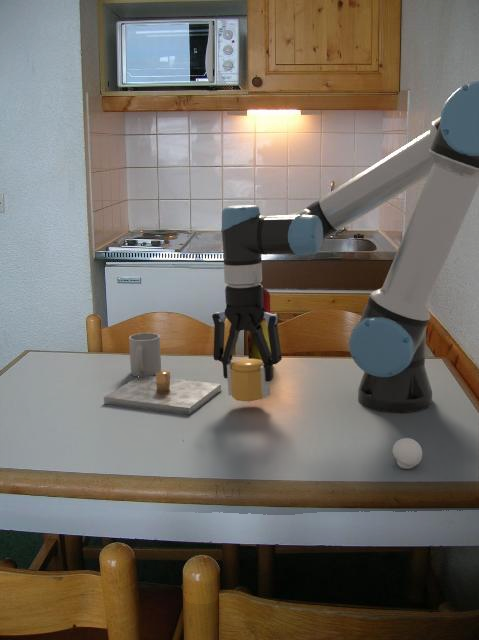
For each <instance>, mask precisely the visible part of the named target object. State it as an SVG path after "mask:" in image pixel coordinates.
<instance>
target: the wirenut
mask: <svg viewBox="0 0 479 640" xmlns="http://www.w3.org/2000/svg"><path fill="white" fill-rule="evenodd" d="M233 361H234V362H232V361H231V362H232V363H231V367H232V368H231V369H230V373H231V392H232V395H231V398H233V399H234V400H236V402H237V401H241V402H255V401H260V400H263V399H264V398H262V391H261V371H260V367H261V366H262V365H264V364H263V361H262V360H259V359H249V358H241V359H237V360H233Z"/></svg>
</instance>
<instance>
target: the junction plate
mask: <svg viewBox="0 0 479 640" xmlns="http://www.w3.org/2000/svg"><path fill="white" fill-rule="evenodd" d="M221 391H222V384H221V383H214V382H206V381H205V382H204V381H197V380H187V379H179V378H171V372H170V371H169V370H161V371H158V372H156V375H155V376H145V375H141V376H139V377H138V376H136V378H134V379H132V380H131V381H129V382H127V383H126V384H124V385H122V386H120V387H118V388H117V389H115V390H114V391H112V392H110V393H108V394H107V395H105V396H103V404H104V405H109V406H110V405H111V406H118V407H125V408H127V407H128V408H134V409H141V410H149V411H154V412H155V411H158V412H164V413H165V412H166V413H171V414H172V413H173V414H179V415H186V416H190V415H191V414H193V413H194V412H195V411H197V410H198V409H199V408H200V407H202V406H203V405H204V404H206V403H207V402H208V401H209V400H211V399H212V398H213V397H215V396H216V395H218V394H219V393H220V392H221Z"/></svg>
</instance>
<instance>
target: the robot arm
mask: <svg viewBox="0 0 479 640" xmlns="http://www.w3.org/2000/svg"><path fill="white" fill-rule="evenodd" d="M424 180H426V181H425V183H424V186H423V188H422V190H421V193H420V195H419V198H418V200H417V202H416V205H415V208H414V210H413V211H412V212H413V213H412V214H411V217H410V220H409V221H408V225H407V227H406V229H405V231H404V234H403V237H402V239H401V241H400V244H399V246H398V248H397V251H396V254H395V256H394V259H393V261H392V263H391V265H390V268H389V270H388V273H387V275H386V278H385V280H384V282H383V285H382V287H381V288H378V289H376V290H374V291H372V292H371V293H369V295H368V300H367V303H366V305H365V307H364V309H363V310H362V311H363V312H362V314H361V317H360V319H359V321H358V323H357V324H356V325H355V326H354V327H353V329H352V330H351V332H350V336H349V343H348V347H349V354H350V356H351V357H352V360H353V362H354V363H355V364H356V365H357V366H358V368H359V369H361V370H362V371H363V375H362V378H361V380H360V383H359V385H358V389H357V390H358V391H357V392H358V395H357V396H358V397H357V399H358V402H359V403H361V404H362V405H363V406H365V407H368V408H370V409H373V410H377V411H382V412H389V413H411V412H418V411H421V410H425V409H427V408H429V407H430V406H431V405H432V403H433V391H432V386H431V383H430V379H429V377H428V372H427V369H426V367H425V366H426V365H425V364H426V363H425V362H426V343H427V342H426V339H427V326H428V324H429V321H430V319H431V313H430V311H429V307H428V303H429V300H430V298H431V296H432V293H433V291H434V288H435V287H436V284H437V283H438V279H439V278H440V275H441V273H442V271H443V268H444V267H445V264H446V262H447V259H448V257H449V254H450V252H451V251H452V248H453V245H454V244H455V240H456V239H457V237H458V234H459V231H460V230H461V227H462V225H463V223H464V220H465V218H466V216H467V214H468V211H469V209H470V207H471V204H472V202H473V200H474V198H475V195H476V193H477V190H478V189H479V80H475V81H472V82H468V83H466V84H464V85H462V86H460V87H458V88H457V89H456V90H455V91H454V92H453V93H451V94H450V96H449V97H448V99H446V100H445V103H444V104H443V106H442V109H441V113H440V117H438V118H436V119H435V120H433V121H432V122H431V126H430V129H429V130H428V131H426V132H424V133H422V134H421V135H419V136H418V137H417V138H415V139H413V140H412V141H410V142H408V143H407V144H405V145H404V146H402V147H401V148H399V149H397V150H396V151H394V152H392V153H390V154H389V155H387V156H386V157H385V158H383V159H381V160H380V161H378V162H377V163H375V164H374V165H372V166H370V167H369V168H367V169H366V170H364V171H362V172H361V173H359V174H357V175H355V176H354V177H352V178H351V179H349V180H348V181H346V182H345V183H342V184H341V185H340V186H338V187H337V188H335V189H334V190H332V191H330V192H329V193H328V194H327V193H326V195H324V196H322V197H321V198H320V199H317V201H314V202H313V203H311V204H309V205H308V206H306V207H304V208H302V209H301V210H299V211H296V212H294V213H289V214H283V215H263V214H261V212H260V207H259V206H258V205H255V204H238V205H230V206H226V207H224V208H223V209H222V211H221V229H220V231H221V239H222V241H221V242H222V250H223V251H222V254H223V274H224V275H223V276H224V279H223V280H224V283H225V285H226V286H225V287H224V291H225V292H224V293H225V304H226V306H225V309H224V310H223V311H220V310H219V311H216V312H215V313H213V314H212V315H211V317H212V321H213V324H214V328H213V329H214V331H213V334H214V335H213V340H214V341H213V360H214V361H218V362H221V364H222V373H223V377H224V379H226V380H227V393H228V396H232V392H231V373H230V369H231V368H232V367H231V363H232V362H234V361H235V360H233V359H234V358H233V357H234V356H233V355H234V352H235V349H236V345H237V341H238V338H239V335H240V332H241V331H243V330H245V331H247V332H248V331H250V332H251V335H252V336H253V337H254V340H255V342H256V345H257V348H258V350H259V353H260V356H261V358H262V361H263V364H264V365H262V366H261V367H260V371H261V391H262V398H263V399H266V398H267V397H268V396H269V395H270V393H271V392H270V382H271V381H273V379H274V365H277V364H278V363H280V362H281V361H282V360H283V358H282V349H281V343H280V333H279V328H278V324H279V320H280V319H279V318H280V315H279V314H278V312H277V313H276V312H275V313H271V312H270V313H267V312H266V311H265V309H264V306H263V289H264V287H263V285H262V284H261V282H263V266H262V265H263V264H262V262H263V261H262V255H265V256H266V255H288V256H289V255H291V256H293V255H296V256H301V257H302V256H305V255H316V254H318V253H319V252H320V251H321V249H322V248H321V247H322V246H323V242H324V241H325V240H326V239H327V238H329V237H331V236H332V235H334V234H336V233H337V232H338V231H340V230H342V229H343V228H346V227H347V226H348V225H351V224H352V223H354V222H355V221H357V220H358V219H360V218H362V217H364V216H366V215H367V214H369V213H371V212H372V211H374V210H375V209H377V208H379V207H381V206H382V205H384V204H385V203H387V202H389V201H391V200H392V199H394V198H395V197H398V196H399V195H401V194H403V193H404V192H406V191H408V190H409V189H411V188H413V187H414V186H416V185H418V184H419V183H421V182H423V181H424ZM226 318H227V320H228V322H229V323H230V327H229V331H228V337H227V341H226V345H225V327H226V326H225V324H226V323H225V321H226ZM263 318H265V319H266V323H267V324H268V335H269V342H270V349H271V353H270V350H269V347H268V345H267V342H266V339H265V337H264V334H263V328H262V326H261V321H262V320H263ZM232 360H233V361H232Z"/></svg>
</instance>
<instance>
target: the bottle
mask: <svg viewBox="0 0 479 640" xmlns="http://www.w3.org/2000/svg"><path fill="white" fill-rule="evenodd" d="M263 306H264V309H265V311H266V312H267V313H271V295H270V291H268V290H267V289H265V288H263ZM261 326H262V328H263V334H264V337H265V339H266V342H267V345H268V347H269V350H270V353H271V349H270V342H269V335H268V324H267V323H266V319H265V318H263V320H262V321H261ZM247 352H248V359H259V360H262V358H261V356H260V353H259V350H258V348H257V345H256V342H255V340H254V337H253V336H252V335H251V332H250V331H247Z"/></svg>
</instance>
